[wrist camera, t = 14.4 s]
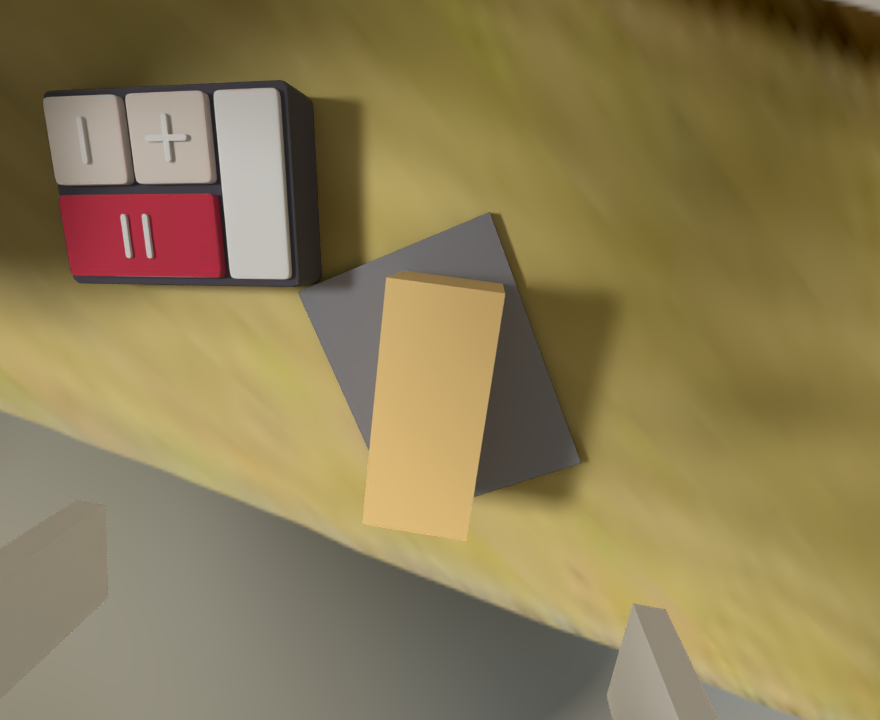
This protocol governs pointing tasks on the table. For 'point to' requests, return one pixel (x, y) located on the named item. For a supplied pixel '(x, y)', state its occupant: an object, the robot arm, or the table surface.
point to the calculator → (187, 184)
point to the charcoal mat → (516, 362)
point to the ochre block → (431, 402)
